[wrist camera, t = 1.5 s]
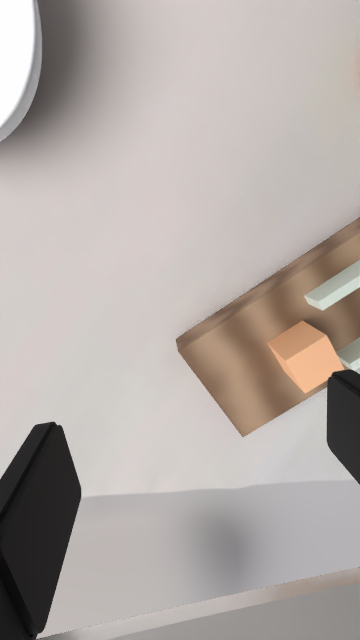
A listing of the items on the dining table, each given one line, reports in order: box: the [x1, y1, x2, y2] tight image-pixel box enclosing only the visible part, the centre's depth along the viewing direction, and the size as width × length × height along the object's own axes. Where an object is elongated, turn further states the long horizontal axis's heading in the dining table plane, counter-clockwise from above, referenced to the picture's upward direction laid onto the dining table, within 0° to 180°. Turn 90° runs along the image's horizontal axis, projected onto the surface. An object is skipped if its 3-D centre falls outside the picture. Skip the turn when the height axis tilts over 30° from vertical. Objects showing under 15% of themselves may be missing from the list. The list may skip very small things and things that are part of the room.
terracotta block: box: [267, 320, 345, 393], centre depth 32 cm, size 5×5×5 cm
